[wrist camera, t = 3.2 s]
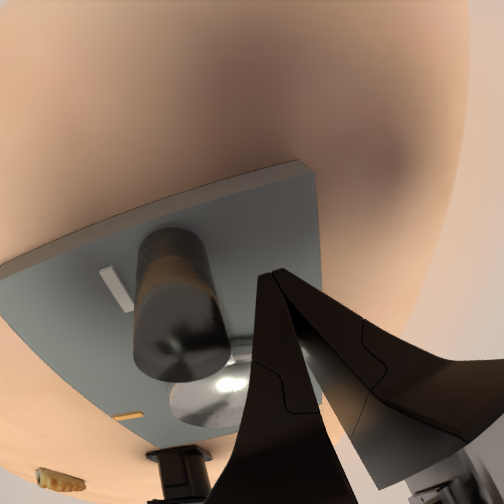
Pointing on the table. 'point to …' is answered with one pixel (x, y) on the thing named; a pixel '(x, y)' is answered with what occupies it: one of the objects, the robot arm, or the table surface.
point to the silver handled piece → (187, 332)
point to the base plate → (124, 277)
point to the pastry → (58, 481)
